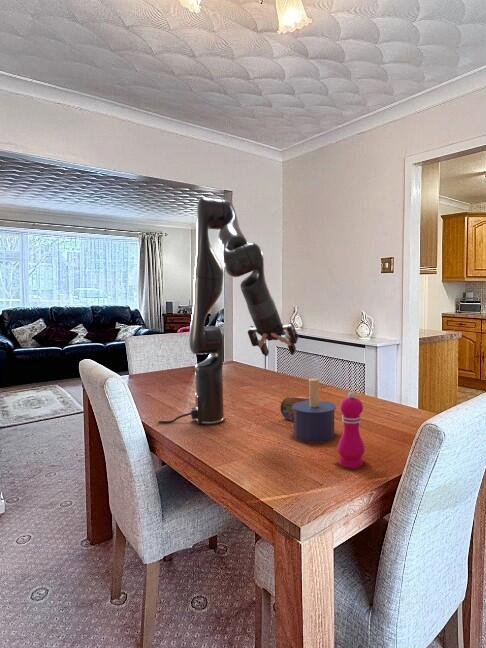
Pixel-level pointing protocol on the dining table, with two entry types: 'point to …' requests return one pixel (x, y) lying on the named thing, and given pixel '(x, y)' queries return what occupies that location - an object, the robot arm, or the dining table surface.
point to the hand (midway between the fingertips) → (279, 353)
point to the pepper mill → (351, 433)
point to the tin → (290, 406)
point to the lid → (314, 401)
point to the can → (313, 426)
